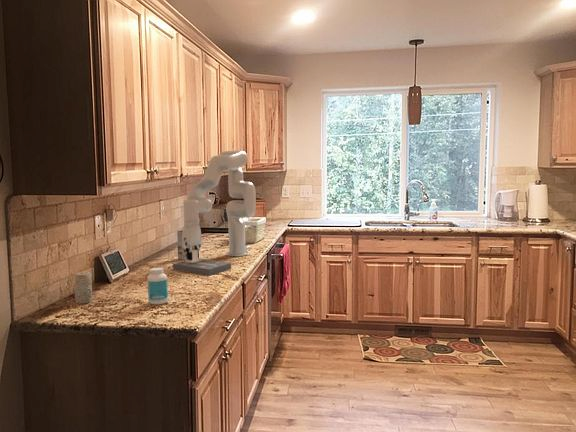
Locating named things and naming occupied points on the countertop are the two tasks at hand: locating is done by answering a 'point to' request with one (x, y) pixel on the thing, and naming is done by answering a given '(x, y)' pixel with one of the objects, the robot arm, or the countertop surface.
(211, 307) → the countertop surface
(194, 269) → the console
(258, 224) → the storage basket
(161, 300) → the pill bottle
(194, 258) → the fader
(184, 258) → the coffee box
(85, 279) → the grey cylinder
